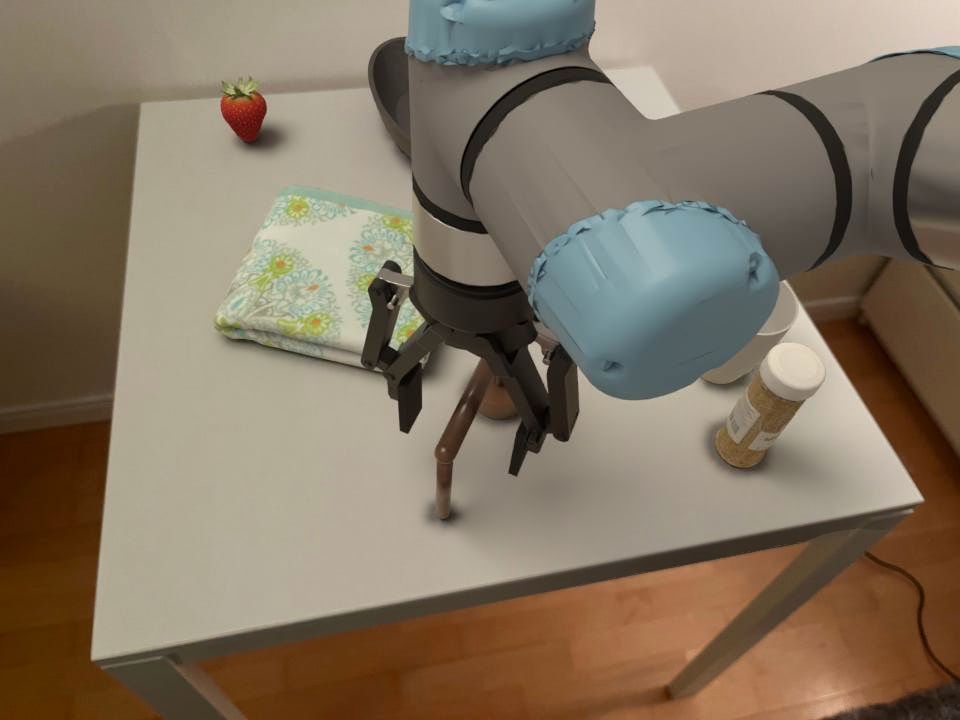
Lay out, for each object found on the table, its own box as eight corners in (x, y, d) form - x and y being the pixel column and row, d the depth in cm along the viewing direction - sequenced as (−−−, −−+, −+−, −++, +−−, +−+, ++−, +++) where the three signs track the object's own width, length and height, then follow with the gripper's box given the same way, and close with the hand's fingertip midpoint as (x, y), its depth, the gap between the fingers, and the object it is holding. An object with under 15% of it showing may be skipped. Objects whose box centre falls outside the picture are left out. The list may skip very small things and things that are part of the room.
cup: (708, 318, 76) (741, 250, 68) (773, 367, 73) (816, 302, 65) (658, 359, 73) (688, 293, 65) (724, 412, 70) (764, 350, 62)
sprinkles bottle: (758, 476, 66) (825, 396, 55) (708, 458, 67) (764, 376, 56) (765, 435, 69) (830, 350, 58) (717, 418, 69) (772, 332, 58)
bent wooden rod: (467, 534, 61) (475, 470, 52) (410, 511, 62) (407, 443, 53) (533, 384, 70) (550, 305, 61) (483, 365, 71) (492, 285, 62)
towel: (428, 387, 69) (428, 355, 65) (215, 339, 71) (201, 306, 67) (471, 250, 80) (474, 216, 76) (285, 212, 82) (277, 176, 77)
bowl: (444, 74, 98) (445, 30, 93) (500, 183, 86) (505, 139, 81) (355, 87, 95) (351, 43, 90) (400, 202, 84) (398, 158, 78)
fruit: (270, 123, 90) (258, 64, 84) (275, 151, 87) (263, 92, 81) (227, 128, 89) (211, 68, 83) (231, 156, 86) (215, 97, 80)
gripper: (684, 256, 41) (604, 450, 59) (340, 145, 45) (365, 359, 63) (651, 357, 37) (576, 531, 55) (274, 225, 40) (322, 429, 59)
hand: (464, 439), depth 59 cm, fingers open, 9 cm apart
